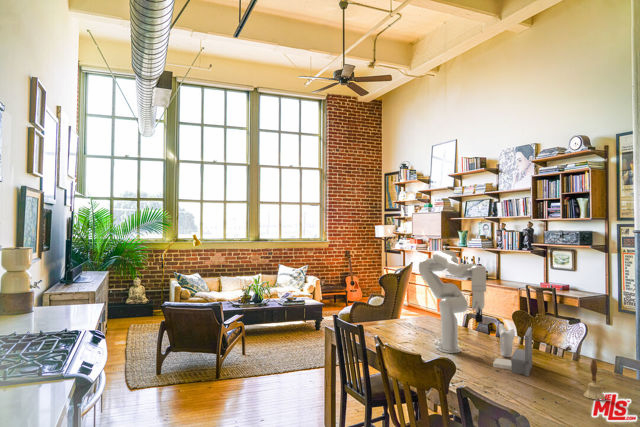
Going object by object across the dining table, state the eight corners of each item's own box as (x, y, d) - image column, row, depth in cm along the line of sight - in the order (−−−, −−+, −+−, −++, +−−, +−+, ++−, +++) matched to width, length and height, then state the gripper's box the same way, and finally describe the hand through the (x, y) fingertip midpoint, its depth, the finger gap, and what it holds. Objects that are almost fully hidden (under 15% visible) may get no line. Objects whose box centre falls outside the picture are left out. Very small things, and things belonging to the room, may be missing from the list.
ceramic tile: (493, 367, 225) (493, 363, 225) (496, 362, 234) (496, 358, 234) (526, 373, 217) (526, 368, 217) (528, 367, 226) (528, 362, 226)
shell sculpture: (516, 359, 239) (515, 326, 240) (500, 358, 241) (500, 326, 241) (512, 354, 247) (512, 323, 248) (497, 353, 249) (496, 322, 249)
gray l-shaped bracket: (511, 373, 215) (510, 333, 215) (516, 362, 233) (515, 325, 233) (528, 376, 210) (528, 335, 211) (532, 364, 228) (531, 327, 229)
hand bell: (579, 393, 189) (578, 357, 189) (596, 393, 190) (595, 356, 190) (592, 401, 181) (591, 363, 181) (610, 400, 181) (610, 362, 182)
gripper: (474, 286, 242) (474, 318, 242) (468, 289, 230) (468, 323, 229) (488, 287, 238) (488, 320, 238) (483, 290, 226) (483, 325, 225)
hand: (479, 321), depth 233 cm, fingers closed
